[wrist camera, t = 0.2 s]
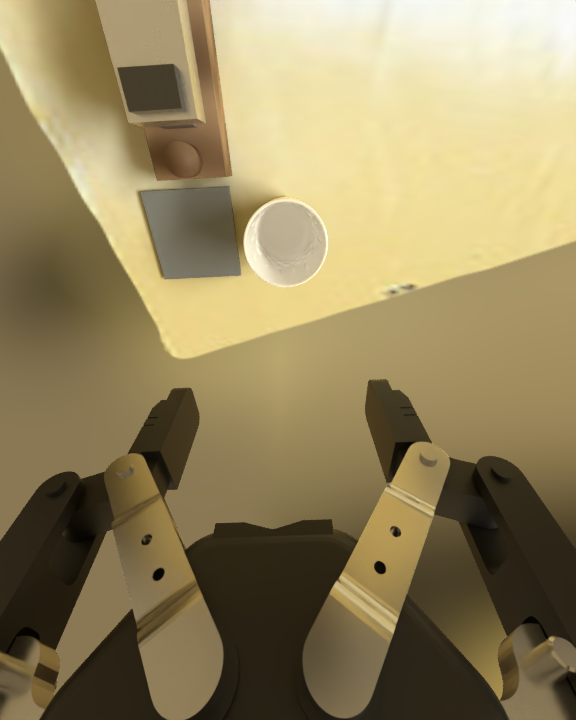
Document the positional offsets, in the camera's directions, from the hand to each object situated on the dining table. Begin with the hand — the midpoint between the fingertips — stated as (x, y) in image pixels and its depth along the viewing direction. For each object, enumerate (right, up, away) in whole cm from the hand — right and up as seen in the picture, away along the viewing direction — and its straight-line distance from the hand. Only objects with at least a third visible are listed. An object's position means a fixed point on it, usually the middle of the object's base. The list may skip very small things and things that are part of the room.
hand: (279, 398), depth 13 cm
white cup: (0, +18, +23) cm, 29 cm away
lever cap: (-10, +26, +10) cm, 29 cm away
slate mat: (-11, +17, +23) cm, 31 cm away
